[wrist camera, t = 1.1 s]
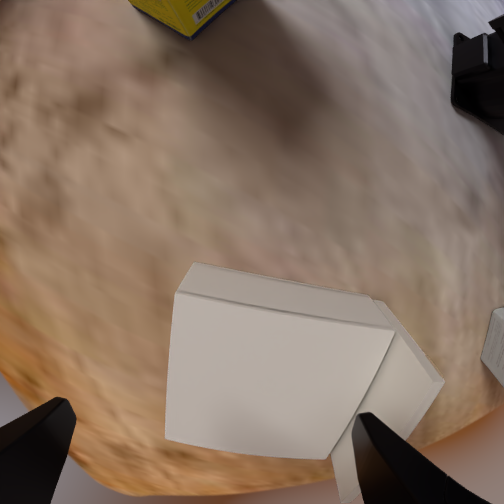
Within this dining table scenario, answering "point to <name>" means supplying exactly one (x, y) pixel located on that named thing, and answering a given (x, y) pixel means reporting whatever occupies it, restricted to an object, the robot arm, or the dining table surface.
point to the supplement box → (183, 13)
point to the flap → (390, 399)
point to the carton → (268, 362)
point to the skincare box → (495, 345)
